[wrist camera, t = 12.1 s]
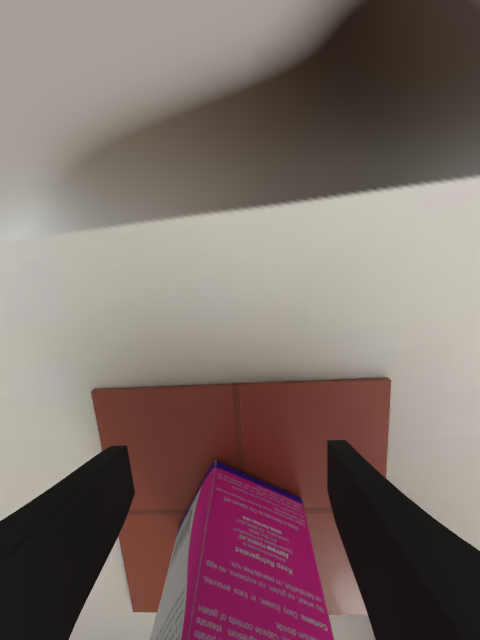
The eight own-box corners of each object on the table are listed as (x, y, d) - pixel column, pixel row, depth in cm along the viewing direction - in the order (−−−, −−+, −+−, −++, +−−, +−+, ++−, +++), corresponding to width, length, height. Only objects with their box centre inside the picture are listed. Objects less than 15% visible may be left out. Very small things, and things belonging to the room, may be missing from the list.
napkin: (377, 610, 18) (379, 616, 17) (135, 606, 19) (132, 612, 18) (388, 377, 14) (391, 380, 14) (93, 388, 16) (90, 391, 15)
